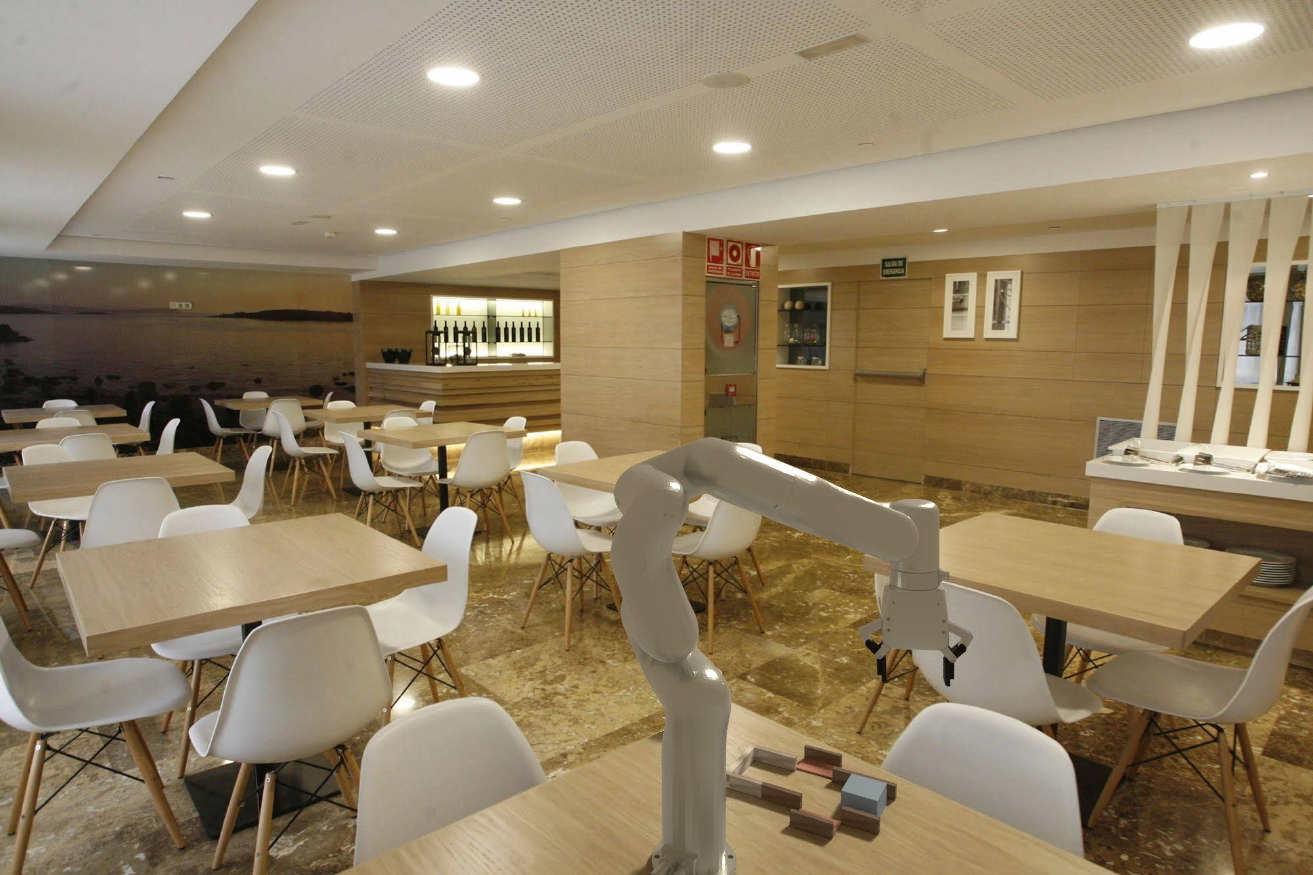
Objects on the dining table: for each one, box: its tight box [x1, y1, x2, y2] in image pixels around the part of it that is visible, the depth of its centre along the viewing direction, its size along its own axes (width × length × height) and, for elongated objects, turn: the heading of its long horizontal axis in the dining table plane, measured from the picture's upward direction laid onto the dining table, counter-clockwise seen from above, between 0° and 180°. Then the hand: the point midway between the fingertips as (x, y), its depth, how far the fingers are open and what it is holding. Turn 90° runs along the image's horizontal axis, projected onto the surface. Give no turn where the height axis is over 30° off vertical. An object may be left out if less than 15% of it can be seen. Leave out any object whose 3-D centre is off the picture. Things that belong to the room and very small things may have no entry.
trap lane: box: [726, 743, 898, 840], centre depth 132 cm, size 22×27×2 cm
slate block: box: [840, 774, 887, 817], centre depth 127 cm, size 6×6×4 cm
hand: (914, 681), depth 122 cm, fingers open, 9 cm apart
